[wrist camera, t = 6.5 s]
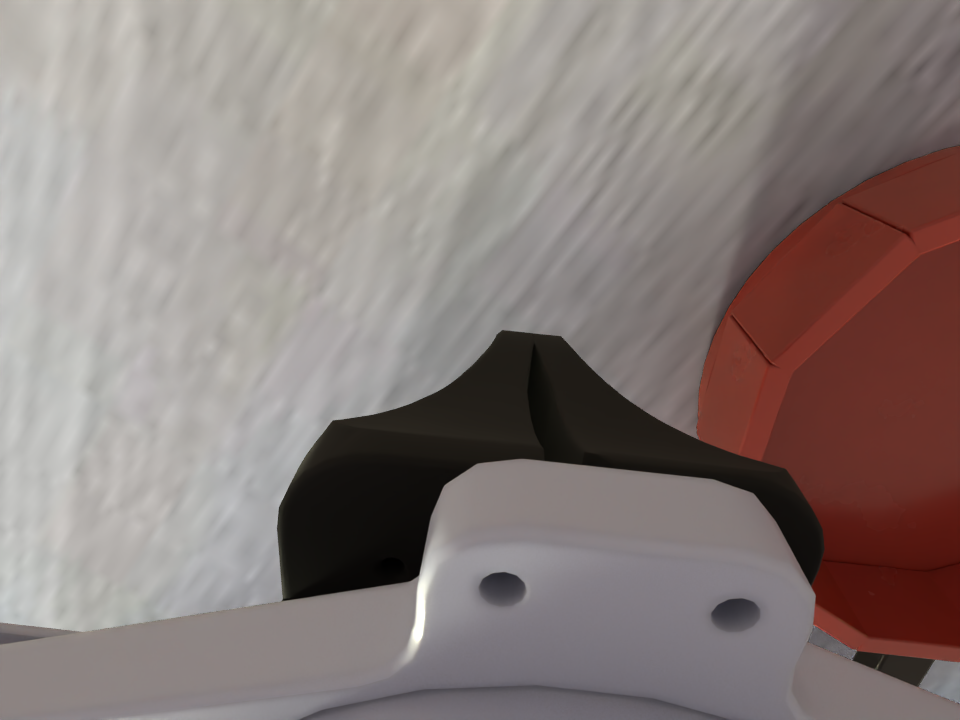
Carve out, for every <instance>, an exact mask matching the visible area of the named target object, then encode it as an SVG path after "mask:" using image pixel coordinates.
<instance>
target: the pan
mask: <svg viewBox="0 0 960 720" xmlns="http://www.w3.org/2000/svg"><path fill="white" fill-rule="evenodd" d="M696 428H697V435H698V438H699V440H700V441H703V442H705V443H708V444H710V445H713V446H715V447H718V448H721V449H723V450H726V451H728V452H731V453H734V454H737V455H740V456H744V457H747V458H751V459H754V460H757V461H761V462H764V463H768V464H771V465H774V466H778V467H781V468H785V469H786V470H787V471H788V472H789V474H790V475H791V476H792V478H793V479H794V481H795V483H796V484H797V486H798V487H799V489H800V490H801V492H802V493H803V495H804V496H805V498H806V500H807V501H808V503H809V504H810V506H811V508H812V509H813V511H814V513H815V515H816V517H817V519H818V521H819V523H820V525H821V527H822V529H823V537H824V547H825V550H824V554H823V558H822V561H821V565H820V569H819V571H818V573H817V576H816V578H815V580H814V582H813V584H812V589H813V591H814V593H815V595H816V597H815V609H814V621H813V625H815V626H816V627H818V628H819V629H821V630H823V631H824V632H826V633H827V634H829V635H831V636H832V637H834V638H835V639H837V640H839V641H840V642H842V643H843V644H845V645H847V646H848V647H850V648H851V649H856V650H857V653H856V654H855V656H854V658H853V661H855V662H858V663H860V664H862V665H865V666H867V667H870V668H872V669H875V670H877V671H880V672H882V673H884V674H887V675H889V676H892V677H894V678H897V679H899V680H902V681H904V682H906V683H909V684H911V685H914V686H916V687H918V686H919V685H920V683H921V681H922V680H923V678H924V677H925V675H926V673H927V672H928V670H929V669H930V667H931V665H932V664H933V662H934V661H935V660H943V661H952V662H960V145H959V146H955V147H950V148H946V149H943V150H940V151H937V152H934V153H931V154H928V155H925V156H922V157H919V158H916V159H914V160H911V161H908V162H905V163H903V164H901V165H898V166H896V167H894V168H892V169H890V170H888V171H886V172H883V173H881V174H879V175H877V176H875V177H873V178H871V179H868V180H866V181H865V182H863V183H861V184H860V185H858V186H856V187H855V188H853V189H851V190H850V191H848V192H846V193H845V194H843V195H841V196H840V197H838V198H836V199H835V200H833V201H831V202H830V203H829V204H827V205H826V206H825V207H823V208H822V209H821V210H819V211H818V212H817V213H815V214H814V215H813V216H811V217H810V218H809V219H807V220H806V221H805V222H803V223H802V224H801V225H799V226H798V227H797V228H796V229H795V230H794V231H793V232H792V233H791V234H790V235H789V236H787V237H786V238H785V239H784V240H783V241H782V242H781V243H780V244H779V245H778V246H777V247H776V248H775V249H774V250H772V251H771V253H770V254H769V255H768V256H767V257H766V258H765V260H764V261H763V262H762V263H761V264H760V265H759V267H758V268H757V269H756V270H755V271H754V272H753V273H752V275H751V276H750V277H749V278H748V279H747V281H746V282H745V284H744V285H743V287H742V288H741V290H740V291H739V293H738V294H737V296H736V297H735V299H734V300H733V302H732V303H731V305H730V306H729V308H728V310H727V312H726V314H725V316H724V318H723V320H722V322H721V323H720V325H719V327H718V329H717V331H716V333H715V335H714V338H713V341H712V344H711V347H710V349H709V352H708V355H707V358H706V361H705V364H704V369H703V374H702V378H701V383H700V388H699V402H698V423H697V427H696Z"/></svg>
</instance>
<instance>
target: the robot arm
mask: <svg viewBox="0 0 960 720" xmlns="http://www.w3.org/2000/svg"><path fill="white" fill-rule="evenodd" d="M277 532H278V544H279V557H280V569H281V582H282V594H283V600H282V601H281V602H275V603H268V604H262V605H255V606H249V607H242V608H236V609H229V610H223V611H216V612H210V613H203V614H197V615H190V616H184V617H177V618H171V619H164V620H158V621H151V622H145V623H138V624H132V625H125V626H119V627H113V628H106V629H100V630H93V631H87V632H79V631H70V630H61V629H52V628H43V627H34V626H26V625H17V624H8V623H0V720H960V704H958V703H955V702H953V701H950V700H948V699H946V698H943V697H941V696H938V695H936V694H933V693H931V692H928V691H926V690H924V689H921V688H919V687H916V686H914V685H911V684H909V683H906V682H904V681H902V680H899V679H897V678H894V677H892V676H889V675H887V674H884V673H882V672H880V671H877V670H875V669H872V668H870V667H867V666H865V665H862V664H860V663H858V662H855V661H853V660H850V659H848V658H845V657H843V656H840V655H838V654H835V653H833V652H831V651H828V650H826V649H823V648H821V647H818V646H816V645H813V644H811V643H809V642H807V641H808V639H809V637H810V635H811V633H812V631H813V621H814V609H815V597H816V595H815V593H814V591H813V589H812V584H813V582H814V580H815V578H816V576H817V573H818V571H819V569H820V565H821V561H822V558H823V554H824V550H825V547H824V537H823V529H822V527H821V525H820V523H819V521H818V519H817V517H816V515H815V513H814V511H813V509H812V508H811V506H810V504H809V503H808V501H807V500H806V498H805V496H804V495H803V493H802V492H801V490H800V489H799V487H798V486H797V484H796V483H795V481H794V479H793V478H792V476H791V475H790V474H789V472H788V471H787V470H786V469H785V468H781V467H778V466H774V465H771V464H768V463H764V462H761V461H757V460H754V459H751V458H747V457H744V456H740V455H737V454H734V453H731V452H728V451H726V450H723V449H721V448H718V447H715V446H713V445H710V444H708V443H705V442H703V441H700V440H698V439H696V438H694V437H691V436H689V435H687V434H685V433H683V432H681V431H679V430H677V429H675V428H673V427H671V426H669V425H667V424H665V423H663V422H661V421H660V420H658V419H656V418H655V417H653V416H651V415H650V414H648V413H646V412H645V411H643V410H642V409H640V408H639V407H637V406H636V405H634V404H633V403H631V402H630V401H629V400H627V399H626V398H625V397H623V396H622V395H621V394H619V393H618V392H617V391H616V390H615V389H613V388H612V387H611V386H610V385H609V384H607V383H606V382H605V381H604V380H603V379H602V378H601V377H600V376H598V375H597V374H596V373H595V372H594V371H593V370H592V369H591V368H590V367H589V366H588V365H587V364H586V363H585V362H584V361H583V360H582V359H581V357H580V356H579V355H578V354H577V353H576V352H575V351H574V350H573V349H572V348H571V347H570V345H569V344H568V343H567V342H566V341H565V340H564V339H563V338H562V337H561V336H552V335H543V334H533V333H524V332H514V331H504V330H502V331H501V332H500V333H498V334H497V335H496V338H495V339H494V341H493V342H492V344H491V345H490V346H489V348H488V349H487V350H486V351H485V352H484V354H483V355H482V356H481V357H480V358H479V359H478V360H477V361H476V362H475V363H474V364H473V365H472V366H471V367H470V368H469V369H468V370H466V371H465V372H464V373H463V374H462V375H461V376H460V377H458V378H457V379H456V380H455V381H453V382H452V383H451V384H449V385H448V386H446V387H444V388H443V389H441V390H439V391H438V392H436V393H434V394H431V395H429V396H427V397H425V398H423V399H420V400H418V401H416V402H414V403H411V404H409V405H406V406H403V407H400V408H397V409H394V410H390V411H386V412H382V413H378V414H374V415H369V416H362V417H356V418H349V419H343V420H333V421H332V422H331V423H330V425H329V426H328V427H327V429H326V430H325V431H324V433H323V434H322V435H321V436H320V438H319V439H318V440H317V441H316V443H315V444H314V445H313V447H312V448H311V449H310V451H309V452H308V453H307V455H306V456H305V458H304V460H303V461H302V463H301V465H300V467H299V468H298V470H297V472H296V474H295V476H294V478H293V480H292V482H291V484H290V486H289V488H288V490H287V492H286V494H285V496H284V498H283V500H282V503H281V505H280V507H279V514H278V525H277Z"/></svg>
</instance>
